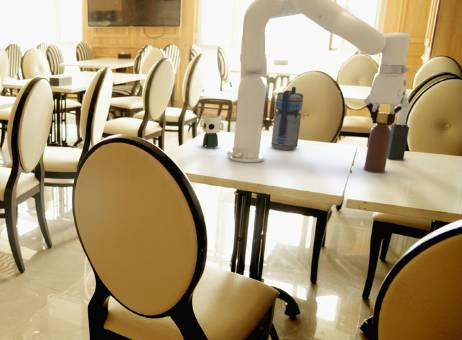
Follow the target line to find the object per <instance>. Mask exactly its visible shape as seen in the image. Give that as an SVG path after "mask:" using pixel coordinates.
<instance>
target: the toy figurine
mask: <svg viewBox="0 0 462 340" xmlns="http://www.w3.org/2000/svg"><path fill="white" fill-rule="evenodd" d="M199 127H200V128H202V131H203V132H204V135H203V140H202V147H204V148H208V149H215V148H217V147H218V146H219V138H218V137H219V136H218V133H220V132H221V131H224V129H225V123H224V122H223V121H222V116H221V115H215V114H214V115H213V114H207V115H204V116H203V118H202V119H200V122H199Z"/></svg>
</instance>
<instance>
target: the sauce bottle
mask: <svg viewBox="0 0 462 340" xmlns="http://www.w3.org/2000/svg"><path fill="white" fill-rule="evenodd" d="M390 138H391V127H390V126H388V125H387V123H381V122H377V123H375V124H374V126H373V127H371V129H370V132H369V137H368V144H367V148H366V149H367V151H366V156H365V161H364V162H365V163H364V167H363V168H364V170H365V171H366V172H371V173H377V174H379V173H380V174H382V173H385V171H386V166H387V161H388V158H387V155H388V149H389V144H390Z"/></svg>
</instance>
